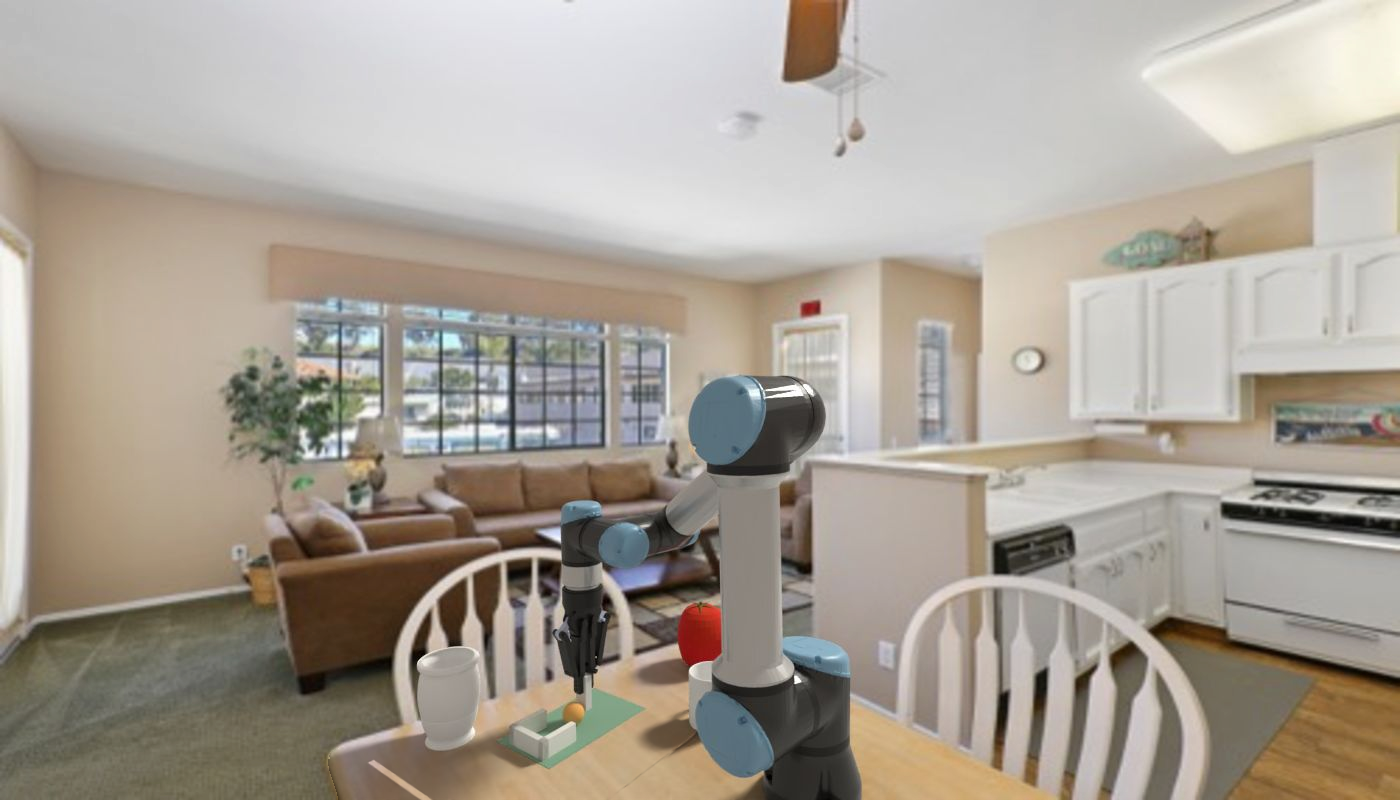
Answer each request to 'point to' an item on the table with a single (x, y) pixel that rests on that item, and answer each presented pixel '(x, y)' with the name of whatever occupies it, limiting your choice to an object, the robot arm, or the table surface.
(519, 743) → the white c-shaped bracket
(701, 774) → the table surface
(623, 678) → the table surface
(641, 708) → the putting mat
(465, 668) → the jar
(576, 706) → the ball
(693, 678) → the cup
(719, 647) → the tomato
